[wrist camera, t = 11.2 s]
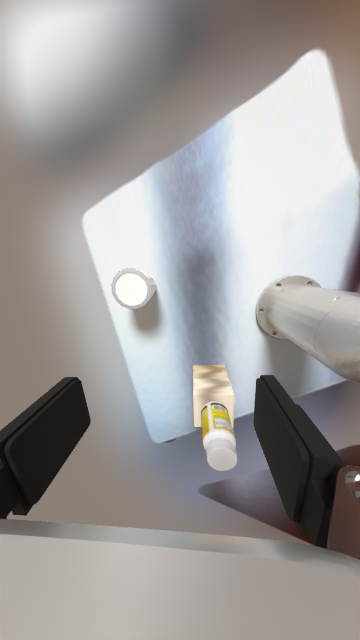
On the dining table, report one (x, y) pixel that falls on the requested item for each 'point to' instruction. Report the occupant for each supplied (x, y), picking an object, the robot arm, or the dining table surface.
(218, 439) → the supplement bottle
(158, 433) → the dining table surface
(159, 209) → the dining table surface
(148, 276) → the white cup
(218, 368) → the bottom block
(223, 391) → the top block
